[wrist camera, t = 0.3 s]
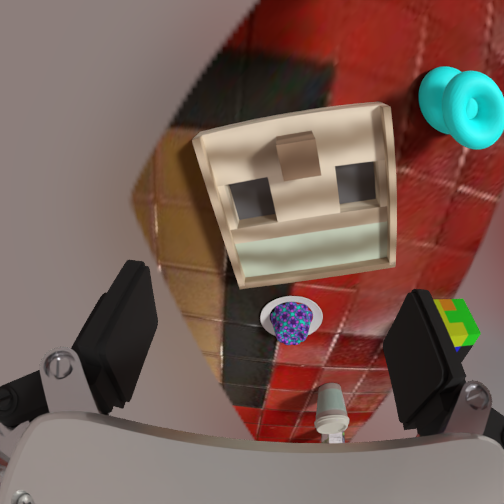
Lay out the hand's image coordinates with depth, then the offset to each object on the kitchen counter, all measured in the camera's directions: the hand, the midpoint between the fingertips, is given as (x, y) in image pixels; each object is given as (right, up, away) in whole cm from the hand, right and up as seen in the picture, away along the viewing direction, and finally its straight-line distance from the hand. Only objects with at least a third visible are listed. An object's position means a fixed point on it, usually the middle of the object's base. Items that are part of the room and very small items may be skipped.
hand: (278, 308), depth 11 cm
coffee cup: (+19, -33, +63) cm, 74 cm away
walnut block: (+5, +15, +27) cm, 32 cm away
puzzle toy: (+38, -12, +47) cm, 61 cm away
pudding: (+7, -10, +49) cm, 51 cm away
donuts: (+26, +24, +23) cm, 42 cm away
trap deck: (+7, +11, +34) cm, 36 cm away
